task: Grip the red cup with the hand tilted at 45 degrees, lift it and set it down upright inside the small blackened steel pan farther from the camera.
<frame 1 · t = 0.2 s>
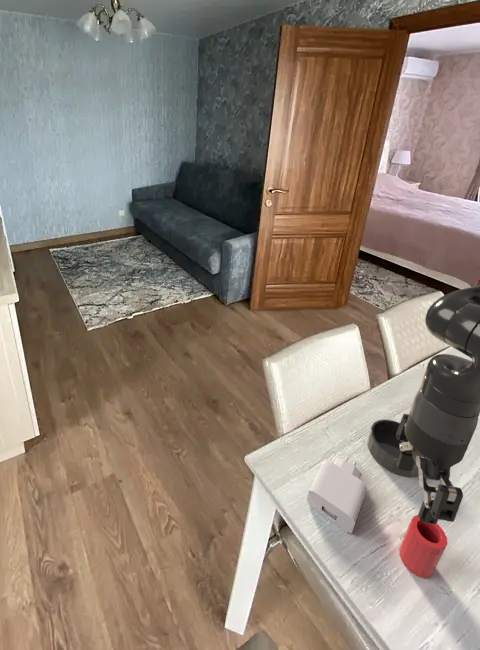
hand: (414, 492, 58), 20 cm above the table, tool pointing down, fingers open, 8 cm apart
charger: (339, 491, 77), on the table
pan: (394, 453, 86), on the table
red cup: (415, 560, 66), on the table
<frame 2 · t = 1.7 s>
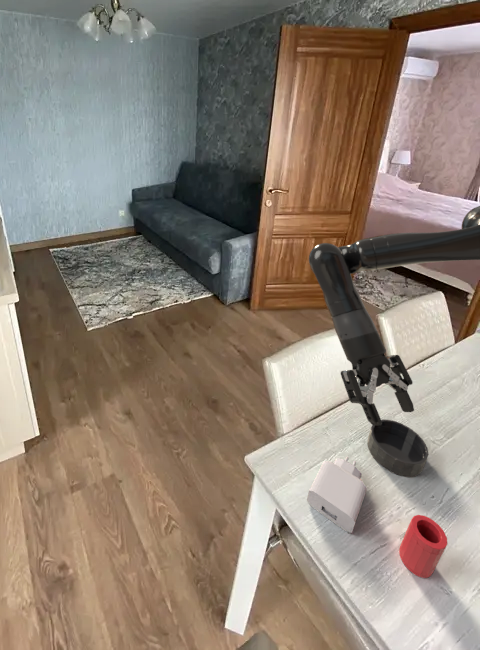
hand: (393, 418, 66), 25 cm above the table, tool tilted 45°, fingers open, 8 cm apart
nothing on the table moved.
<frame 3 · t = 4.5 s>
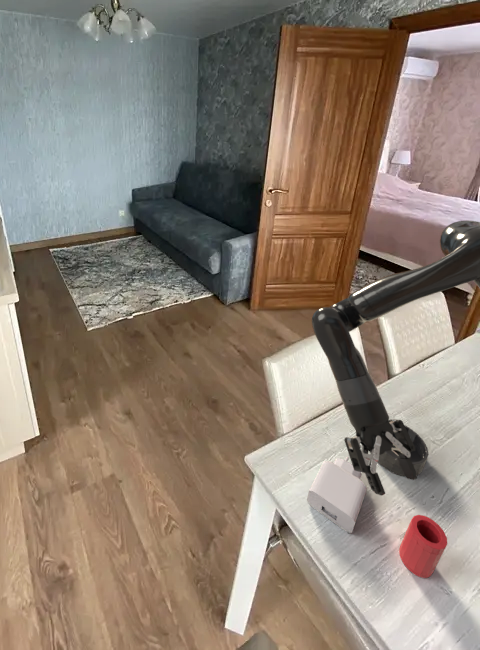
hand: (396, 486, 67), 11 cm above the table, tool tilted 45°, fingers open, 8 cm apart
nothing on the table moved.
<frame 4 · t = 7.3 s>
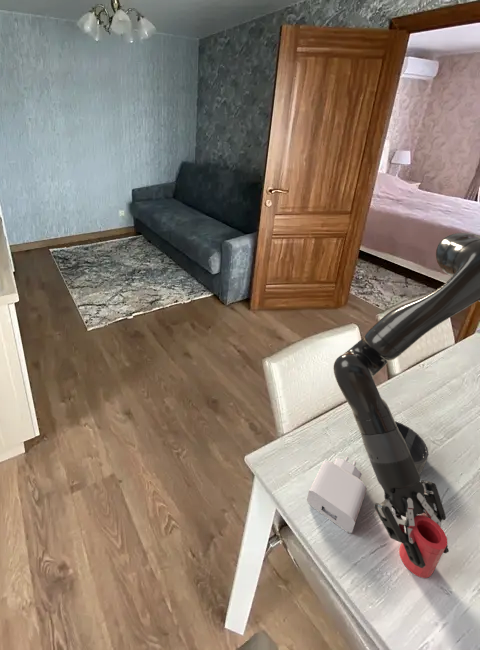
hand: (431, 557, 62), 4 cm above the table, tool tilted 45°, fingers closed on red cup, 5 cm apart
red cup: (415, 560, 66), on the table, touching gripper
everything else where it was.
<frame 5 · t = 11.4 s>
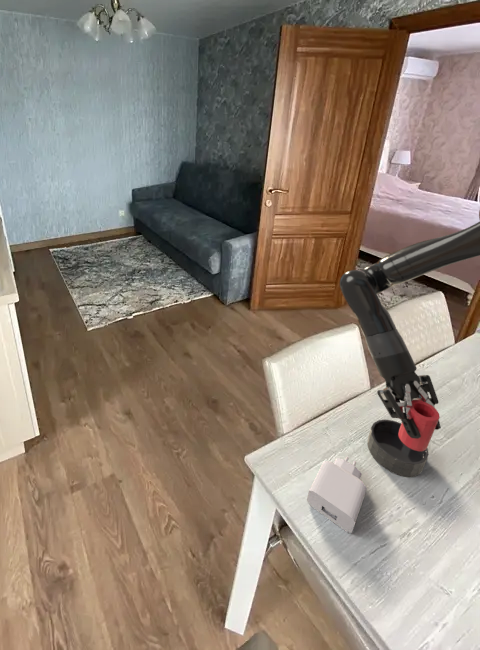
hand: (425, 432, 73), 16 cm above the table, tool tilted 45°, fingers closed on red cup, 5 cm apart
red cup: (412, 440, 76), point 12 cm above the table, touching gripper
everything else where it was.
when the fingers open (5 cm above the table, at t = 15.9 s): red cup stays where it is, resting on pan.
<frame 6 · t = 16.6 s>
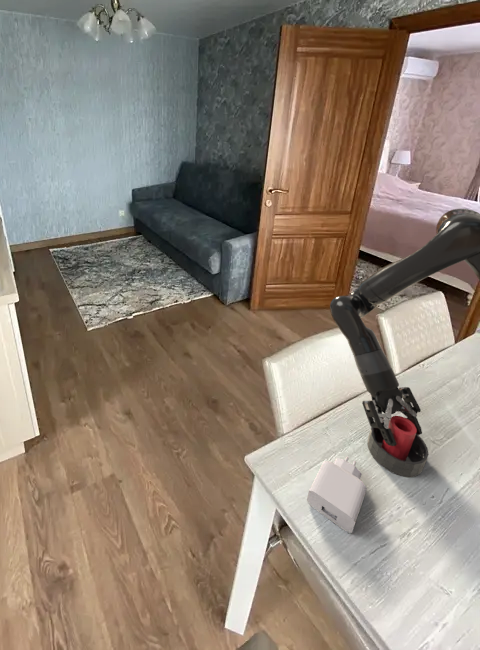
hand: (405, 439, 82), 6 cm above the table, tool tilted 45°, fingers open, 8 cm apart
red cup: (394, 451, 86), resting on pan
everything else where it was.
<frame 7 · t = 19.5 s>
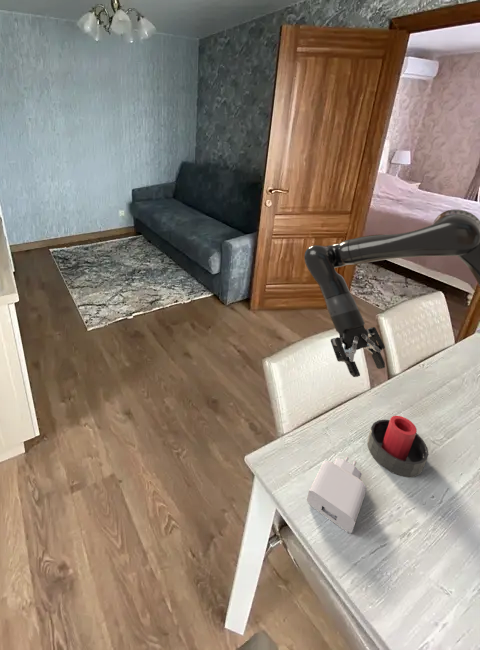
hand: (369, 372, 90), 16 cm above the table, tool tilted 45°, fingers open, 8 cm apart
nothing on the table moved.
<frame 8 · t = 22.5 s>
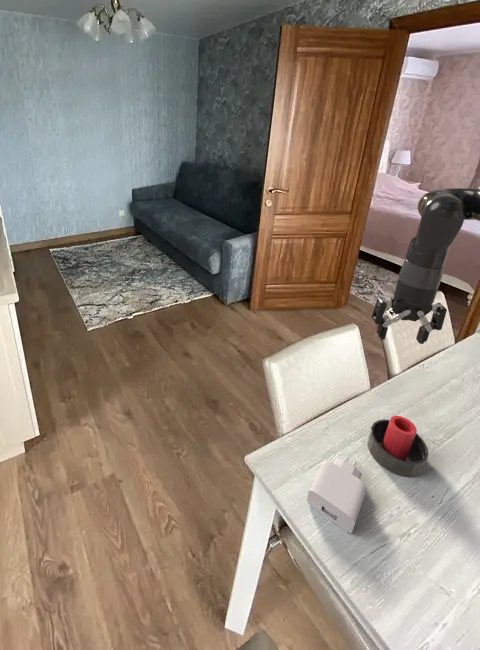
hand: (400, 339, 83), 28 cm above the table, tool pointing down, fingers open, 8 cm apart
nothing on the table moved.
at the end: red cup 0.1 cm off-centre in the pan, point 0.5 cm above the pan's base; red cup tilted 0°; the gripper is holding nothing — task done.
